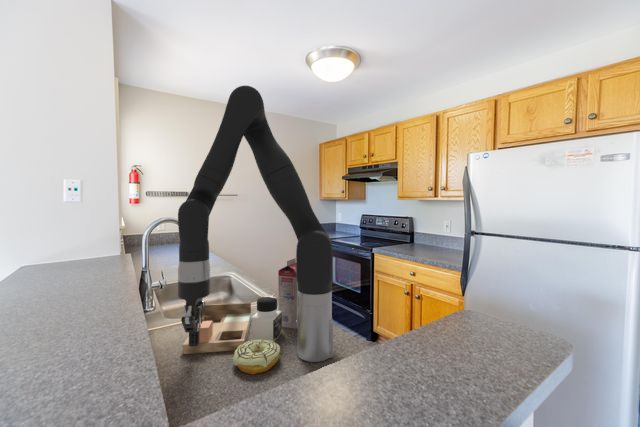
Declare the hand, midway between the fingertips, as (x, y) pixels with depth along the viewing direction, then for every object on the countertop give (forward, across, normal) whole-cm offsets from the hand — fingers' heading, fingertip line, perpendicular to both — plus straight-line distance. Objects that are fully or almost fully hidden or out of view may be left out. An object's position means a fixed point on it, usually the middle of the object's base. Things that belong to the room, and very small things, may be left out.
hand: (194, 344), depth 71 cm
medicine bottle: (+4, +11, -18) cm, 21 cm away
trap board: (+4, +15, -4) cm, 16 cm away
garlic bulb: (+4, +32, -18) cm, 37 cm away
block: (+2, +7, 0) cm, 7 cm away
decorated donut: (+4, -3, -16) cm, 17 cm away
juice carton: (+4, +20, -26) cm, 33 cm away
